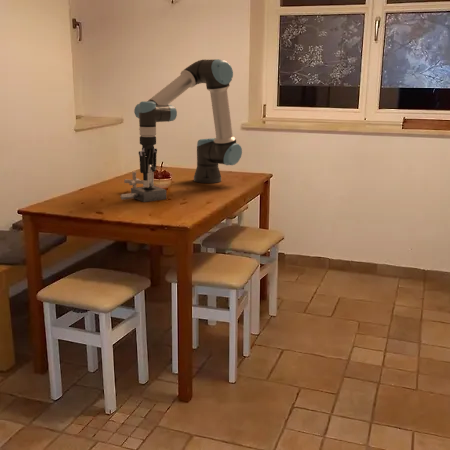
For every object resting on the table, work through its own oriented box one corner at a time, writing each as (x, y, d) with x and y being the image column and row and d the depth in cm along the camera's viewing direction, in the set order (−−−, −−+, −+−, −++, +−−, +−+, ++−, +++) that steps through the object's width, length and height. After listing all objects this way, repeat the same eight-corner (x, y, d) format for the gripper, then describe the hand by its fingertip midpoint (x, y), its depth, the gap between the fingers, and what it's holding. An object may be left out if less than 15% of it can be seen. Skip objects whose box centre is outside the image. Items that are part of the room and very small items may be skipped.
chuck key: (157, 194, 278) (157, 164, 275) (154, 195, 275) (153, 165, 271) (143, 192, 281) (142, 163, 277) (139, 194, 278) (138, 164, 274)
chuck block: (153, 194, 287) (153, 185, 285) (166, 199, 277) (166, 189, 276) (115, 199, 275) (115, 189, 274) (128, 204, 266) (128, 194, 264)
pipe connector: (140, 194, 287) (140, 173, 284) (121, 193, 289) (120, 172, 286) (147, 190, 296) (147, 170, 294) (128, 189, 298) (128, 169, 296)
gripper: (149, 133, 280) (150, 182, 286) (131, 137, 265) (132, 188, 271) (163, 134, 277) (164, 184, 283) (146, 138, 262) (146, 190, 268)
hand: (148, 186), depth 277 cm, fingers closed on chuck key, 3 cm apart
